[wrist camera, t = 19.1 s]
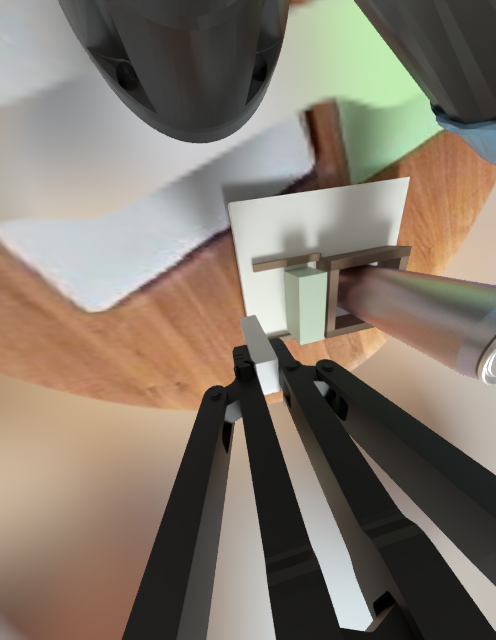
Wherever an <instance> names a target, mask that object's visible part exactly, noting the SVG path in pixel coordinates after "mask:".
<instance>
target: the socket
mask: <svg viewBox="0 0 496 640" xmlns="http://www.w3.org/2000/svg"><path fill="white" fill-rule="evenodd" d="M411 247H412V246H392V245H386V246H381V247H376V248H370V249H365V250H359V251H354V252H349V253H343V254H338V255H332V256H327V257H322V258H321V259H319V261H316V269H318V270H321V271H325V272H327V289H326V309H325V328H324V336H325V337H326V338H331V337H335V336H339V335H344V334H348V333H352V332H356V331H360V330H365V329H369V328H373V327H374V326H372V325H370V324H368V323H367V322H365V321H363V320H361V319H359V318H357V317H356V316H354V315H352V314H347V315H342V316H338V317H336V305H337V293H338V280H339V269H344V268H349V267H355V266H360V265H365V264H370V263H375V262H378V263H377V266H382V267H388V268H394V269H400V270H406V267H407V263H408V259H409V255H410V251H411Z"/></svg>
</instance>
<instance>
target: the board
mask: <svg viewBox="0 0 496 640" xmlns="http://www.w3.org/2000/svg"><path fill="white" fill-rule="evenodd" d="M409 179H410V177H405V178H398V179H391V180H384V181H377V182H371V183H364V184H357V185H350V186H343V187H336V188H329V189H322V190H315V191H308V192H301V193H294V194H287V195H280V196H273V197H266V198H259V199H252V200H245V201H238V202H231V203H229V204H228V211H229V217H230V223H231V229H232V235H233V241H234V247H235V253H236V259H237V265H238V271H239V277H240V283H241V289H242V295H243V301H244V307H245V313H246V317H247V316H252V315H256V317H257V319H258V321H259V323H260V325H261V327H262V329H263V331H264V332H265V334H266V336H267V338H268V339H272V338H277V337H278V338H279V339H281V340H282V341H283V342H285V341H289V340H294V339H295V338H294V337H293V336H292V334H291V333H290V332H289V331H288V330H287V313H286V295H285V276H284V271H287V270H293V269H298V268H303V267H311V268H315V269H316V261H319V259H321V258H322V257H327V256H332V255H338V254H343V253H349V252H354V251H359V250H365V249H370V248H376V247H381V246H386V245H392V246H396V243H397V238H398V233H399V228H400V223H401V219H402V214H403V209H404V204H405V199H406V194H407V189H408V184H409ZM377 263H378V262H375V263H370V265H376V266H377ZM341 270H342V269H339V272H340V271H341ZM347 314H350V313H348V312H346V311H345V310H343V309H341V308H339V307H337V306H336V317H338V316H342V315H347Z"/></svg>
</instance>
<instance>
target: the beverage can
mask: <svg viewBox="0 0 496 640" xmlns="http://www.w3.org/2000/svg"><path fill="white" fill-rule="evenodd" d="M336 306H337V307H339V308H341V309H343V310H345V311H346V312H348V313H350V314H352V315H354V316H356V317H357V318H359V319H361V320H363V321H365V322H367V323H368V324H370V325H372V326H374V327H376V328H378V329H379V330H381V331H383V332H385V333H387V334H389V335H390V336H392V337H394V338H396V339H398V340H400V341H402V342H403V343H405V344H407V345H409V346H411V347H412V348H415V349H416V350H418V351H420V352H422V353H423V354H425V355H427V356H429V357H431V358H433V359H434V360H436V361H438V362H440V363H442V364H444V365H445V366H448V367H449V368H451V369H453V370H455V371H456V372H458V373H460V374H462V375H465V376H469V377H472V378H476V379H479V380H481V381H482V382H483V383H485V384H488V385H492V386H496V285H490V284H484V283H478V282H471V281H466V280H460V279H454V278H448V277H442V276H436V275H430V274H424V273H418V272H412V271H406V270H400V269H394V268H388V267H382V266H376V265H370V264H365V265H360V266H355V267H349V268H344V269H342V270H341V271H340V272H339V280H338V293H337V305H336Z"/></svg>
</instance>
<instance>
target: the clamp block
mask: <svg viewBox="0 0 496 640" xmlns="http://www.w3.org/2000/svg"><path fill="white" fill-rule="evenodd" d="M284 276H285V295H286V313H287V330H288V331H289V332H290V333H291V334H292V336H293V337H294V338H295V339H296V341H297V342H298V343H299V344H300V345H303V344H307V343H311V342H316V341H320V340H324V328H325V309H326V289H327V272H325V271H321V270H318V269H315V268H311V267H303V268H298V269H293V270H287V271H284Z"/></svg>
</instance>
